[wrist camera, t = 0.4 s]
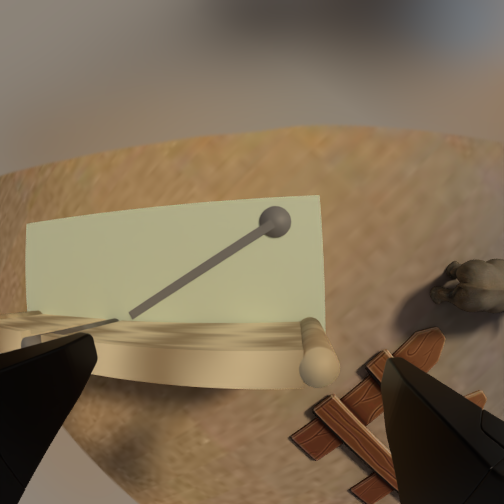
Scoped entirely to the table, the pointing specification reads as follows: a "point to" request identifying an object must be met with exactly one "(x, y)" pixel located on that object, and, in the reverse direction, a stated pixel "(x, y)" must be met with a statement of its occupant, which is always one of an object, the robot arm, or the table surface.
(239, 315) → the card
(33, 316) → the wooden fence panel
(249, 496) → the table surface
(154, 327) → the hinged fence panel
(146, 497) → the table surface
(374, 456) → the decorative fence
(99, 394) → the table surface
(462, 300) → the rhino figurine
